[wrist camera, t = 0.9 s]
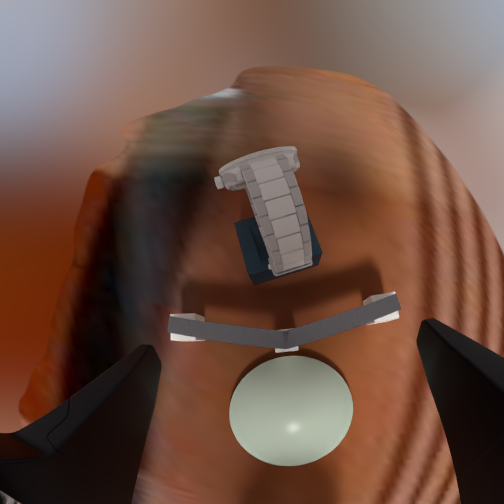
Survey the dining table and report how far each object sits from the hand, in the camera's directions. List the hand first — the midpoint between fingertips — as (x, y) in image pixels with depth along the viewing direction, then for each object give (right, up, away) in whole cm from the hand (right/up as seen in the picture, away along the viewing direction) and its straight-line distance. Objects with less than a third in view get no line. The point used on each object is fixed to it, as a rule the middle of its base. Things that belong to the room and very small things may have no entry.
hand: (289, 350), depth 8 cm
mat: (+2, -9, +10) cm, 14 cm away
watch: (+1, +3, +15) cm, 16 cm away
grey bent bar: (+1, -2, +11) cm, 11 cm away
